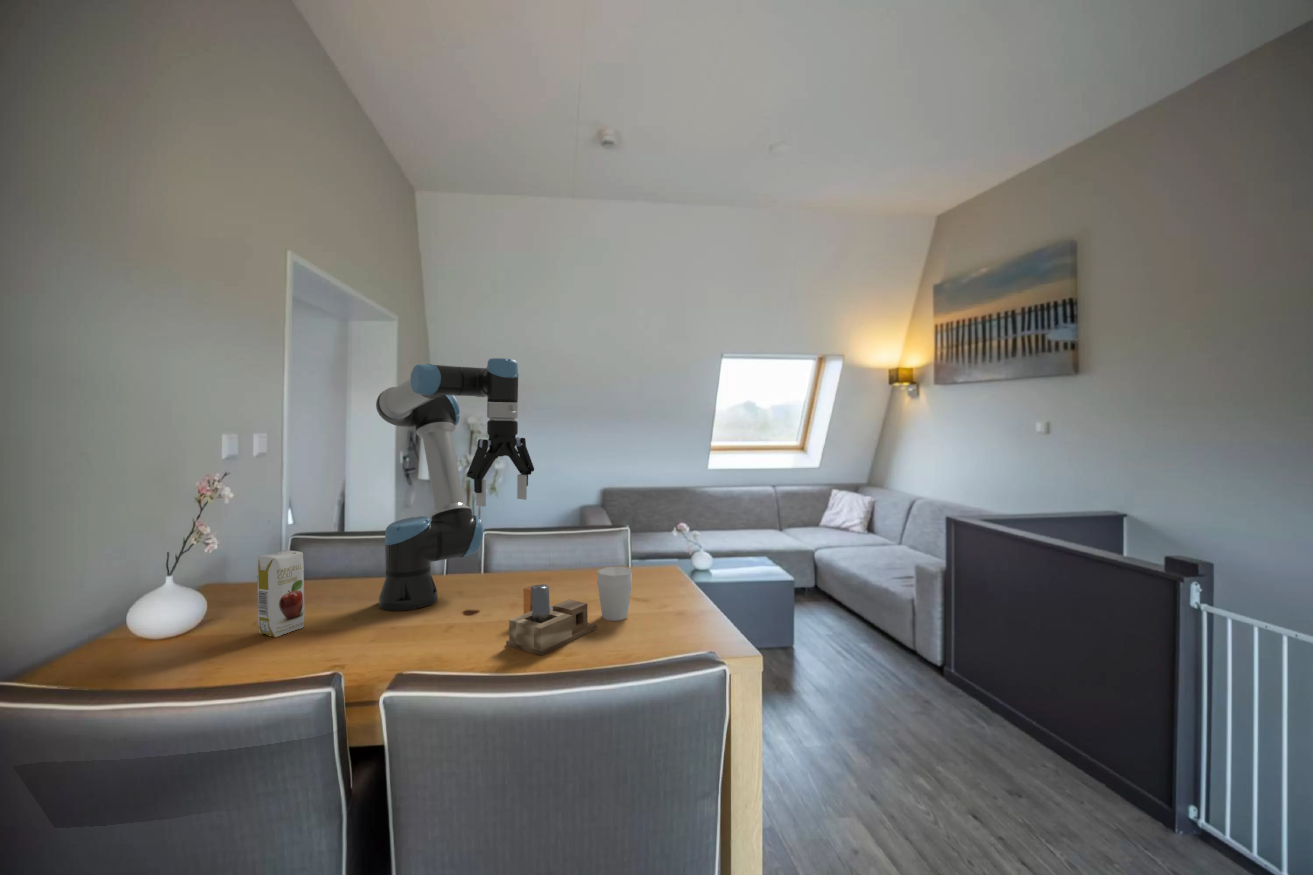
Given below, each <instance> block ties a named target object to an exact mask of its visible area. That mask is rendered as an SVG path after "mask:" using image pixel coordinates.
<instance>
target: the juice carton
mask: <svg viewBox="0 0 1313 875" xmlns="http://www.w3.org/2000/svg"><path fill="white" fill-rule="evenodd" d="M256 563H257V565H256V584H257V586H256V588H257V589H256V592H257V594H256V595H257V598H256V599H257V626H258V631H259V634H260V633H261V634H260V635H262V634H266V635H271V636H280V635H283V634H285V633H288V632H291V631H294V630H296V629H300V628H302V629H304V628H303V627H305V617H306V616H305V615H306V614H305V575H304V574H305V570H304V567H305V566H304V564H305V562H304V554H303V552H302V551H297V550H286V549H284V550H281V551H278V552H275V553H272V554H263V555H258V556H257V561H256ZM300 630H301V629H300ZM294 632H295V631H294ZM291 633H292V632H291ZM288 634H289V633H288ZM266 635H265V636H266ZM271 636H270V637H271ZM283 636H284V635H283ZM280 637H281V636H280Z"/></svg>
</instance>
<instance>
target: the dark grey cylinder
mask: <svg viewBox="0 0 1313 875" xmlns="http://www.w3.org/2000/svg"><path fill="white" fill-rule="evenodd" d="M531 586H532V587H531V599H532V621H534V622H537V623H543V622H546V621H548V620H550V606H551V604H550V585H548V584H544V583H543V584H541V583H540V584H535V585H531Z"/></svg>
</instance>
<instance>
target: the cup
mask: <svg viewBox="0 0 1313 875" xmlns="http://www.w3.org/2000/svg"><path fill="white" fill-rule="evenodd" d="M632 574H633V573H632V570H631V569H630V568H628V567H623V566H607V567H603V568H600V569H598V571H597V582H596V583H597V589H598V590H597V591H598V597H599V603H600V604H599V605H600V610H601V611H600V612H601V617H602V619H604V620H606V621H610V622H611V621H613V622H617V621H622V620H625V619H627V618H628V616H629V608H630V607H629V606H630V600H631V595H632V594H631V593H632V585H633V577H632Z"/></svg>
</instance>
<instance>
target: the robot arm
mask: <svg viewBox="0 0 1313 875" xmlns="http://www.w3.org/2000/svg"><path fill="white" fill-rule="evenodd" d="M518 368H519V365H518V361H517V360H515V359H513V358H503V357H499V358H498V357H497V358H495V357H493V358H489V359H488V361H487V366H486V367H473V366H472V367H471V366H470V367H469V366H455V365H442V364H441V365H440V364H432V363H426V364H416V365H414V366H413V368H412V370H411V374H410V378H409V379H407V380H405V381H404V382H403V383H401V384H399V385H398V386H391V387H388V388H387V389H385V390H383V391H382V392H381V393H380V394H379V395H378V397H377V399H376V401H375V408H376V412H377V413H378V415H379V416H380V417H381V418H382V420H384V421H385V422H387V423H389V424H391V425H393V426H396V427H405V428H407V427H409V428H411V427H412V428H415V433H416V435H417V436H419V437H420V438H422V443H423V447H424V454H425V459H426V464H427V469H428V470H427V471H428V476H429V481H430V482H429V483H430V488H431V492H432V498H433V504H434V510H435V511H434V512H433V514H432V515H431V516H430V517H429V516H412V517H407V518H403V519H399V520H396V521H393V522H391V523H390V524H388V525H387V527H386V529H385V534H384V536H385V537H384V541H383V542H384V545H385V546H384V549H385V550H384V554H385V555H384V556H385V557H384V560H385V561H384V562H385V578H384V581H383V585H382V588H381V591H380V595H379V598H378V607H379V608H380V609H382V610H385V611H397V612H398V611H409V610H416V609H421V608H425V607H428V606H430V605H433V604H435V603H436V602H437V601H438V588H437V586H436V584H435V581H434V578H433V576H432V573H431V569H432V568H431V565H432V562H438V561H445V560H450V559H455V558H456V559H457V558H464V557H467V556H472V555H474V554H476V553H477V552H478V551H479V550H480V548H481V545H482V542H483V539H484V526H483V521H482V519H481V517H480V516H478V515H476V514H473V511H472V508H471V507H470V506H468V505H466V501H465V497H464V492H463V487H462V481H461V476H460V471H459V467H458V466H459V464H458V460H457V455H456V450H455V445H454V440H453V435H452V434H453V432H454V431H455V430H456V426H457V425H458V424H459V423H460V422H459V421H460V413H461V411H460V406H459V402H458V399H457V398H456V396H458V397H459V396H461V397H477V398H484V397H487V399H486V400H487V401H486V403H487V404H486V405H487V406H486V408H487V412H486V413H487V414H486V418H487V419H489V420H488V421H487V422H486V423H487V424H486V427H487V428H486V433H487V435H488V439H483V438H479V439H478V440H477V447H476V451H475V453H474V455H473V458H472V461H471V463H470V465H469V468H468V471H467V472H466V477H467V478H470V479H471V480H473V492H474V493H475V505H476V506H477V507H483V508H484V507H487V479H484V478H485V476H486V475H487V473H488V471H489V470H490V468H492V465H493V464H494V463H495V460H497V459H498V458H499V457H501V458H502V457H504V456H505V457H509V460H510V461H511V462H512V463H513V466H515V468H516V469H517V471H518V473H519V474H517V475H516V478H517V480H516V481H517V485H516V486H517V490H516V497H517V498H516V499H518V500H527V499H528V498H527V496H528V495H527V493H528V489H527V487H528V486H529V476H531V475H532V473H533V472H534V471H535V467H534V464H533V462H532V459H531V456H530V453H529V450H528V448H527V444H526V441H527V440H526V438H525V437H516V436H517V435H518V432H519V430H518V429H519V428H518V427H519V425H518V424H519V422H518V421H517V420H516V419H518V416H519V415H518V414H519V413H518V412H519V411H518V409H519V408H518V407H519V405H518V404H519V403H518V401H519V374H520V373H519V369H518Z"/></svg>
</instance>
